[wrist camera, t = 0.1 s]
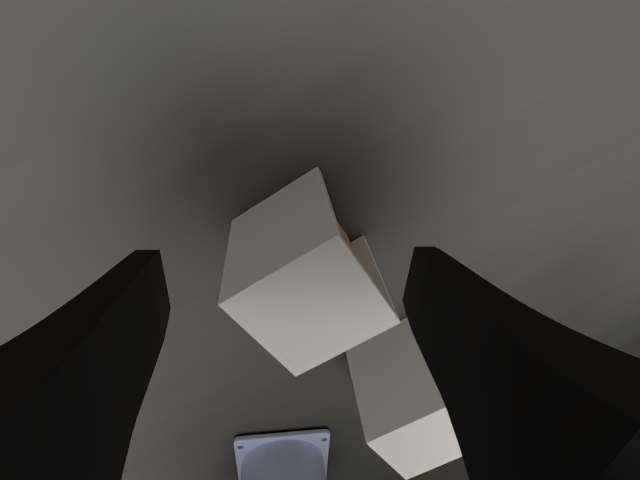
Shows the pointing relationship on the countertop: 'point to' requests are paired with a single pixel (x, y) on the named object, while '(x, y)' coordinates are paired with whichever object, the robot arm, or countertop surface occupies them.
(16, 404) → the robot arm
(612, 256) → the countertop surface
